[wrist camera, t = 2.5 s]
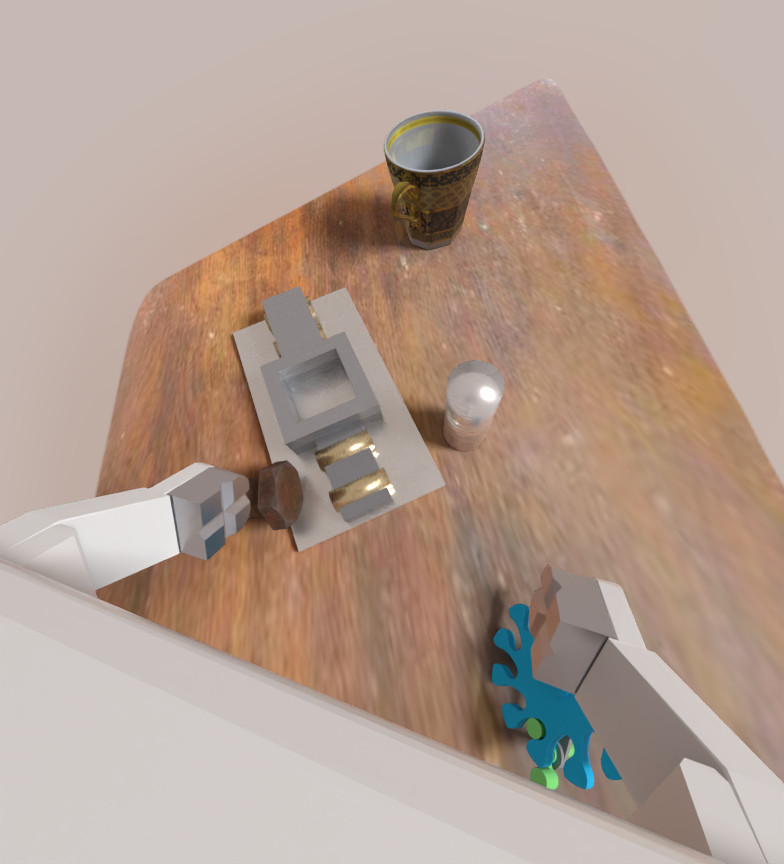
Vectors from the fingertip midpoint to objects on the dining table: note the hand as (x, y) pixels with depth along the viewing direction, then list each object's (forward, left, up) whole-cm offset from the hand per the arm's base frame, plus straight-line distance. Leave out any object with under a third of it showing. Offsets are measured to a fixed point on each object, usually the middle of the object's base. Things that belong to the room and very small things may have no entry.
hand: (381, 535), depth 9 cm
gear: (+5, -10, -22) cm, 25 cm away
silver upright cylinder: (+9, +9, -22) cm, 25 cm away
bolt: (-14, +11, -22) cm, 28 cm away
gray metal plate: (-2, +18, -22) cm, 28 cm away
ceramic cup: (+17, +34, -22) cm, 44 cm away
